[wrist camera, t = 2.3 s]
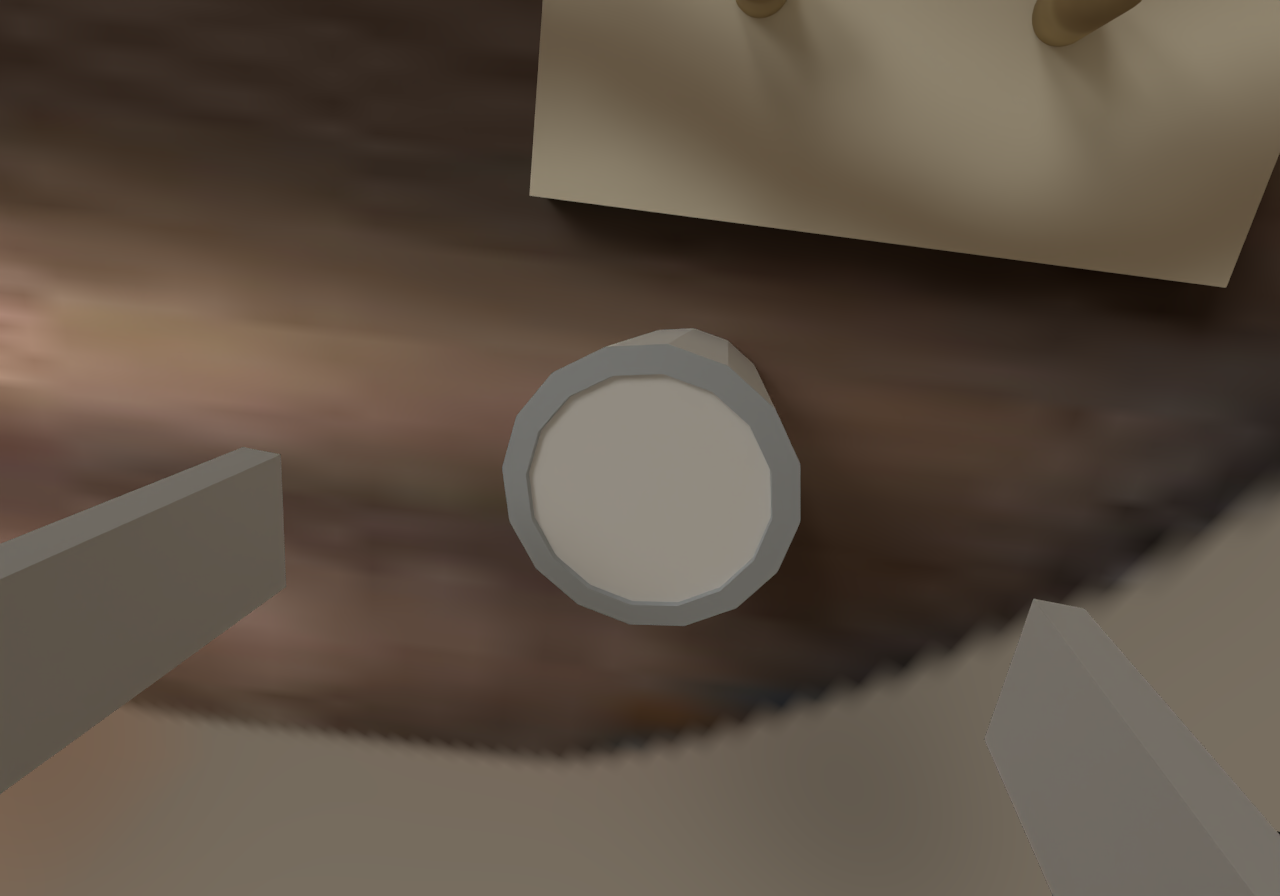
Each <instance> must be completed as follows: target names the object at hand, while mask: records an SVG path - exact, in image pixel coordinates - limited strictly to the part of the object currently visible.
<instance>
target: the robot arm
mask: <svg viewBox="0 0 1280 896" xmlns="http://www.w3.org/2000/svg"><path fill="white" fill-rule="evenodd" d="M285 587H286V573H285V548H284V523H283V498H282V473H281V454H276V453H271V452H265V451H260V450H255V449H250V448H244V447H242V448H240V449H237V450H235V451H232V452H230V453H227V454H225V455H222V456H220V457H217V458H215V459H212V460H210V461H207V462H205V463H202V464H200V465H197V466H195V467H192V468H190V469H187V470H185V471H182V472H180V473H177V474H175V475H172V476H170V477H167V478H165V479H162V480H160V481H157V482H155V483H152V484H149V485H147V486H144V487H142V488H139V489H137V490H134V491H132V492H129V493H127V494H124V495H122V496H119V497H117V498H114V499H112V500H109V501H107V502H104V503H102V504H99V505H97V506H94V507H92V508H89V509H87V510H84V511H82V512H79V513H77V514H74V515H72V516H69V517H67V518H64V519H62V520H59V521H57V522H54V523H52V524H49V525H47V526H44V527H42V528H39V529H37V530H34V531H32V532H29V533H27V534H24V535H22V536H19V537H17V538H14V539H12V540H9V541H7V542H4V543H2V544H0V794H1V793H3V792H4V791H5V790H7V789H8V788H9V787H11V786H12V785H14V784H15V783H16V782H18V781H19V780H20V779H22V778H23V777H24V776H26V775H27V774H29V773H30V772H31V771H33V770H34V769H35V768H37V767H38V766H40V765H41V764H42V763H44V762H45V761H47V760H48V759H49V758H51V757H52V756H54V755H55V754H56V753H58V752H59V751H60V750H62V749H63V748H65V747H66V746H67V745H69V744H70V743H71V742H73V741H74V740H75V739H77V738H78V737H80V736H81V735H82V734H84V733H85V732H87V731H88V730H89V729H90V728H92V727H93V726H95V725H96V724H98V723H99V722H100V721H102V720H103V719H104V718H106V717H107V716H109V715H110V714H111V713H113V712H114V711H116V710H117V709H118V708H120V707H121V706H122V705H124V704H125V703H127V702H128V701H129V700H131V699H132V698H133V697H135V696H136V695H138V694H139V693H140V692H142V691H143V690H144V689H146V688H147V687H149V686H150V685H151V684H153V683H154V682H155V681H157V680H158V679H160V678H161V677H162V676H164V675H165V674H167V673H168V672H169V671H171V670H172V669H173V668H175V667H176V666H178V665H179V664H180V663H182V662H183V661H184V660H186V659H187V658H189V657H190V656H191V655H193V654H194V653H195V652H197V651H198V650H200V649H201V648H202V647H204V646H205V645H206V644H208V643H209V642H211V641H212V640H213V639H215V638H216V637H217V636H219V635H220V634H222V633H223V632H224V631H226V630H227V629H229V628H230V627H231V626H233V625H234V624H235V623H237V622H238V621H240V620H241V619H242V618H244V617H245V616H246V615H248V614H249V613H251V612H252V611H253V610H255V609H256V608H257V607H259V606H260V605H262V604H263V603H264V602H266V601H267V600H268V599H270V598H271V597H273V596H274V595H275V594H277V593H278V592H280V591H281V590H282V589H284V588H285ZM984 740H985V742H986V745H987V747H988V749H989V752H990V754H991V756H992V758H993V761H994V763H995V765H996V768H997V770H998V772H999V774H1000V777H1001V779H1002V781H1003V783H1004V786H1005V788H1006V790H1007V793H1008V795H1009V797H1010V799H1011V802H1012V804H1013V806H1014V809H1015V811H1016V813H1017V816H1018V818H1019V820H1020V822H1021V824H1022V827H1023V829H1024V832H1025V834H1026V836H1027V839H1028V841H1029V843H1030V845H1031V848H1032V849H1033V852H1034V855H1035V857H1036V859H1037V861H1038V864H1039V866H1040V868H1041V871H1042V873H1043V875H1044V877H1045V880H1046V882H1047V884H1048V887H1049V889H1050V891H1051V893H1052V896H1280V832H1278V831H1276V830H1275V829H1274V828H1273V826H1272V825H1271V824H1270V823H1269V822H1268V821H1267V819H1266V818H1265V817H1264V816H1263V815H1262V814H1261V812H1260V811H1259V810H1258V809H1257V808H1256V807H1255V805H1254V804H1253V803H1252V802H1251V801H1250V800H1249V799H1248V797H1247V796H1246V795H1245V794H1244V793H1243V792H1242V790H1241V789H1240V788H1239V787H1238V786H1237V785H1236V783H1235V782H1234V781H1233V780H1232V779H1231V778H1230V777H1229V775H1228V774H1227V773H1226V772H1225V771H1224V770H1223V769H1222V767H1221V766H1220V765H1219V764H1218V763H1217V761H1216V760H1215V759H1214V758H1213V757H1212V756H1211V755H1210V754H1209V752H1208V751H1207V750H1206V749H1205V748H1204V747H1203V745H1202V744H1201V743H1200V742H1199V741H1198V739H1197V738H1196V737H1195V736H1194V735H1193V734H1192V733H1191V731H1190V730H1189V729H1188V728H1187V727H1186V726H1185V724H1184V723H1183V722H1182V721H1181V720H1180V719H1179V717H1178V716H1177V715H1176V714H1175V713H1174V712H1173V711H1172V709H1171V708H1170V707H1169V706H1168V705H1167V704H1166V702H1165V701H1164V700H1163V699H1162V698H1161V697H1160V695H1159V694H1158V693H1157V692H1156V691H1155V690H1154V689H1153V687H1152V686H1151V685H1150V684H1149V683H1148V681H1147V680H1146V679H1145V678H1144V677H1143V676H1142V675H1141V673H1140V672H1139V671H1138V670H1137V669H1136V668H1135V666H1134V665H1133V664H1132V663H1131V662H1130V661H1129V660H1128V659H1127V657H1126V656H1125V655H1124V654H1123V653H1122V651H1120V649H1119V648H1118V647H1117V646H1116V645H1115V643H1114V642H1113V641H1112V640H1111V639H1110V637H1109V636H1108V635H1107V634H1106V633H1105V632H1104V631H1103V629H1102V628H1101V627H1100V626H1099V625H1098V624H1097V622H1096V621H1095V620H1094V619H1093V618H1092V617H1091V615H1090V614H1089V613H1088V612H1087V611H1086V610H1085V609H1084V608H1079V607H1074V606H1069V605H1063V604H1058V603H1053V602H1048V601H1042V600H1037V599H1033V602H1032V604H1031V607H1030V610H1029V613H1028V616H1027V619H1026V621H1025V624H1024V627H1023V630H1022V633H1021V636H1020V639H1019V641H1018V644H1017V647H1016V650H1015V653H1014V656H1013V658H1012V661H1011V664H1010V667H1009V670H1008V673H1007V676H1006V678H1005V681H1004V684H1003V687H1002V690H1001V693H1000V695H999V698H998V701H997V704H996V707H995V710H994V713H993V715H992V718H991V721H990V724H989V727H988V730H987V732H986V736H985V738H984Z"/></svg>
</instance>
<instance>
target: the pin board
mask: <svg viewBox="0 0 1280 896" xmlns="http://www.w3.org/2000/svg"><path fill="white" fill-rule="evenodd" d="M1279 153H1280V0H543V5H542V20H541V34H540V49H539V64H538V78H537V93H536V108H535V122H534V137H533V152H532V166H531V181H530V196H536V197H543V198H551V199H558V200H566V201H573V202H581V203H588V204H596V205H603V206H611V207H619V208H626V209H634V210H641V211H649V212H656V213H664V214H671V215H679V216H687V217H694V218H702V219H709V220H717V221H724V222H732V223H739V224H747V225H755V226H762V227H770V228H777V229H785V230H792V231H800V232H807V233H815V234H823V235H830V236H838V237H845V238H853V239H860V240H868V241H875V242H883V243H891V244H898V245H906V246H913V247H921V248H928V249H936V250H943V251H951V252H959V253H966V254H974V255H981V256H989V257H996V258H1004V259H1011V260H1019V261H1026V262H1034V263H1042V264H1049V265H1057V266H1064V267H1072V268H1079V269H1087V270H1094V271H1102V272H1110V273H1117V274H1125V275H1132V276H1140V277H1147V278H1155V279H1162V280H1170V281H1178V282H1185V283H1193V284H1201V285H1209V286H1216V287H1224V288H1226V287H1227V284H1228V282H1229V279H1230V277H1231V274H1232V272H1233V269H1234V267H1235V264H1236V262H1237V259H1238V257H1239V254H1240V252H1241V249H1242V247H1243V244H1244V241H1245V239H1246V236H1247V234H1248V231H1249V229H1250V226H1251V224H1252V221H1253V219H1254V216H1255V214H1256V211H1257V209H1258V206H1259V204H1260V201H1261V199H1262V196H1263V194H1264V191H1265V189H1266V186H1267V184H1268V181H1269V179H1270V176H1271V173H1272V171H1273V168H1274V166H1275V163H1276V161H1277V158H1278V156H1279Z"/></svg>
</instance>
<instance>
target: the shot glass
mask: <svg viewBox="0 0 1280 896" xmlns="http://www.w3.org/2000/svg"><path fill="white" fill-rule="evenodd" d="M502 471H503V478H504V485H505V493H506V500H507V507H508V514H509V521H510V523H511V525H512V527H513V528H514V530H515V532H516V534H517V536H518V537H519V539H520V541H521V543H522V544H523V546H524V548H525V550H526V551H527V553H528V555H529V557H530V559H531V560H532V562H533V564H534V566H535V567H536V569H537V570H538V571H540V572H541V573H542V574H543V575H544V576H545V577H547V578H548V579H549V580H550V581H551V582H552V583H554V584H555V585H556V586H557V587H558V588H559V589H561V590H562V591H563V592H564V593H565V594H566V595H568V596H569V597H570V598H571V599H572V600H573V601H575V602H576V603H577V604H578V605H581V606H584V607H586V608H589V609H591V610H594V611H596V612H599V613H602V614H604V615H607V616H609V617H612V618H615V619H617V620H620V621H622V622H625V623H627V624H636V625H669V626H686V625H689V624H692V623H695V622H698V621H701V620H703V619H706V618H709V617H712V616H715V615H718V614H721V613H724V612H727V611H730V610H733V609H736V608H737V607H738V606H739V605H741V604H742V603H743V602H744V601H745V600H746V599H747V598H749V597H750V596H751V595H752V594H753V593H754V592H755V591H757V590H758V589H759V588H760V587H761V586H762V585H763V584H765V583H766V582H767V581H768V580H769V579H770V578H771V577H773V576H774V575H775V574H776V573H777V572H778V570H779V568H780V565H781V563H782V561H783V559H784V557H785V555H786V552H787V550H788V548H789V546H790V544H791V541H792V539H793V537H794V535H795V533H796V531H797V528H798V526H799V524H800V522H801V519H800V462H799V460H798V458H797V456H796V453H795V451H794V449H793V447H792V445H791V442H790V440H789V438H788V436H787V434H786V431H785V429H784V427H783V425H782V423H781V420H780V418H779V416H778V414H777V412H776V409H775V407H774V405H773V403H772V401H771V399H770V397H769V395H768V393H767V390H766V388H765V386H764V384H763V382H762V380H761V378H760V376H759V374H758V372H757V369H756V367H755V365H754V364H753V363H752V362H751V361H750V360H749V359H748V358H746V357H745V356H744V355H743V354H742V353H741V352H740V351H739V350H738V349H737V348H736V347H734V346H733V345H732V344H731V343H730V342H729V341H728V340H725V339H722V338H720V337H717V336H714V335H711V334H709V333H706V332H703V331H700V330H697V329H695V328H690V329H670V330H657V331H654V332H651V333H648V334H645V335H641V336H638V337H635V338H632V339H629V340H625V341H622V342H619V343H616V344H613V345H609V346H606V347H604V348H602V349H600V350H598V351H596V352H594V353H592V354H590V355H588V356H585V357H583V358H581V359H579V360H577V361H575V362H573V363H571V364H569V365H567V366H565V367H563V368H561V369H559V370H557V371H555V372H553V373H552V374H551V375H550V376H549V377H548V378H547V380H546V381H545V382H544V383H543V384H542V386H541V387H540V388H539V389H538V390H537V392H536V393H535V394H534V395H533V397H532V398H531V399H530V400H529V401H528V403H527V404H526V405H525V406H524V407H523V409H522V410H521V411H520V412H519V413H518V415H517V416H516V419H515V423H514V427H513V430H512V434H511V438H510V441H509V445H508V448H507V452H506V456H505V459H504V463H503V467H502Z"/></svg>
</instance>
